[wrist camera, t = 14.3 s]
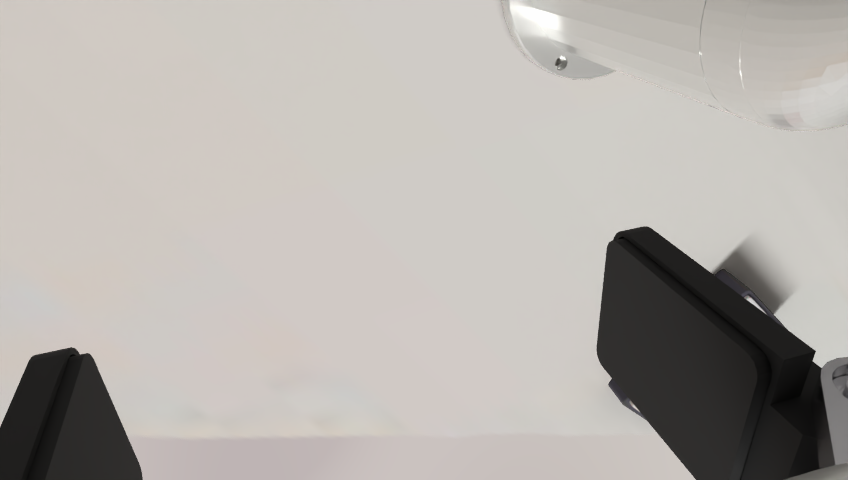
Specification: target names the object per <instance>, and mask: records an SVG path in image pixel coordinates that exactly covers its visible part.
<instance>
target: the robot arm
mask: <svg viewBox="0 0 848 480" xmlns="http://www.w3.org/2000/svg"><path fill="white" fill-rule="evenodd" d="M501 1H502V6H503V12H504V17H505V20H506V23H507V25H508V28H509V31H510V33H511V36H512V37H513V39H514V41H515V42H516V44H517V45H518V47H519V49H520V50H521V51H522V52H523V53H524V54H525V55H526V56H527V57H528V58H529V59H530V60H531V61H532V62H533V63H534V64H536V65H537V66H539V67H540V68H542V69H544V70H545V71H547V72H549V73H552V74H554V75H556V76H559V77H564V78H568V79H573V80H590V79H594V78H599V77H603V76H607V75H609V74H611V73H613V72H616V71H618V72H621V73H624V74H626V75H629V76H631V77H634V78H637V79H639V80H642V81H645V82H647V83H650V84H653V85H655V86H658V87H661V88H663V89H666V90H669V91H671V92H674V93H677V94H679V95H682V96H685V97H687V98H690V99H693V100H695V101H698V102H700V103H703V104H706V105H708V106H711V107H714V108H716V109H719V110H722V111H724V112H727V113H730V114H732V115H735V116H738V117H740V118H744V119H747V120H750V121H752V122H755V123H758V124H761V125H764V126H767V127H771V128H775V129H780V130H787V131H799V132H801V131H820V130H826V129H831V128H835V127H840V126H844V125H847V124H848V0H501ZM556 60H557V62H556ZM555 63H556V64H555ZM815 352H816V351H815V350H813V349H812V348H811V347H809V346H808V345H807V344H805V343H804V342H803V341H801V340H800V339H799V338H797V337H796V336H795V335H793V334H792V333H791V332H789V331H788V330H787V329H785V328H784V327H783V326H781V325H780V324H779V323H777V322H776V321H775V320H773V319H772V318H771V317H769V316H768V315H767V314H765V313H764V312H763V311H761V310H760V309H759V308H757V307H756V306H754V305H753V304H752V303H750V302H749V301H748V300H746V299H745V298H744V297H742V296H741V295H740V294H738V293H737V292H736V291H734V290H733V289H732V288H730V287H729V286H728V285H726V284H725V283H724V282H722V281H721V280H720V279H718V278H717V277H716V276H714V275H713V274H712V273H710V272H709V271H708V270H706V269H705V268H704V267H702V266H701V265H700V264H698V263H697V262H696V261H694V260H693V259H691V258H690V257H689V256H687V255H686V254H685V253H683V252H682V251H681V250H679V249H678V248H677V247H675V246H674V245H673V244H671V243H670V242H669V241H667V240H666V239H665V238H663V237H662V236H661V235H659V234H658V233H657V232H655V231H654V230H653V229H651V228H649V227H639V228H635V229H630V230H625V231H620V232H618V233H617V234H616V235H615V237H614V240H613V241H611V242H609V244H608V246H607V253H606V262H605V272H604V282H603V291H602V301H601V311H600V320H599V330H598V340H597V355H598V359H599V361H600V363H601V365H602V366H603V368H604V369H605V370H606V371H607V373H608V374H609V375H610V376H611V378H612V379H613V380H614V381H615V382H616V384H617V385H618V386H619V387H620V388H621V390H622V391H623V392H624V393H625V394H626V396H627V397H628V398H629V399H630V400H631V402H632V403H633V404H634V405H635V407H636V408H637V409H638V410H639V411H640V413H641V414H642V415H643V416H644V417H645V419H646V420H647V421H648V422H649V423H650V425H651V426H652V427H653V428H654V429H655V431H656V432H657V433H658V434H659V435H660V437H661V438H662V439H663V440H664V442H665V443H666V444H667V445H668V446H669V447H670V449H671V450H672V451H673V452H674V454H675V455H676V456H677V457H678V458H679V460H680V461H681V462H682V463H683V464H684V466H685V467H686V468H687V469H688V471H689V472H690V473H691V474H692V475H693V476H694V478H695V479H696V480H848V357H844V358H837V359H834V360H831V361H829V362H827V363H826V364H825V365H824V366H823V368H820V367H819V366H818V365H816V364H815V363H814V362H813V358H814V355H815ZM0 480H142V472H141V468H140V465H139V462H138V460H137V458H136V455H135V453H134V451H133V449H132V446H131V444H130V442H129V439H128V437H127V435H126V432H125V430H124V428H123V426H122V423H121V421H120V419H119V416H118V414H117V412H116V410H115V407H114V405H113V403H112V400H111V398H110V396H109V393H108V391H107V389H106V387H105V384H104V382H103V380H102V377H101V375H100V373H99V371H98V368H97V366H96V364H95V361H94V359H93V358H92V356H91V355H90V354H88V353H86V354H81V355H80V354H79V352H78V351H77V350H76V349H75V348H72V347H71V348H67V349H62V350H57V351H52V352H48V353H43V354H38V355H34V356H32V357H31V359H30V360H29V362H28V364H27V367H26V369H25V371H24V374H23V376H22V378H21V381H20V383H19V385H18V387H17V390H16V392H15V394H14V397H13V399H12V401H11V404H10V406H9V408H8V411H7V413H6V415H5V417H4V420H3V422H2V424H1V427H0Z"/></svg>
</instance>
